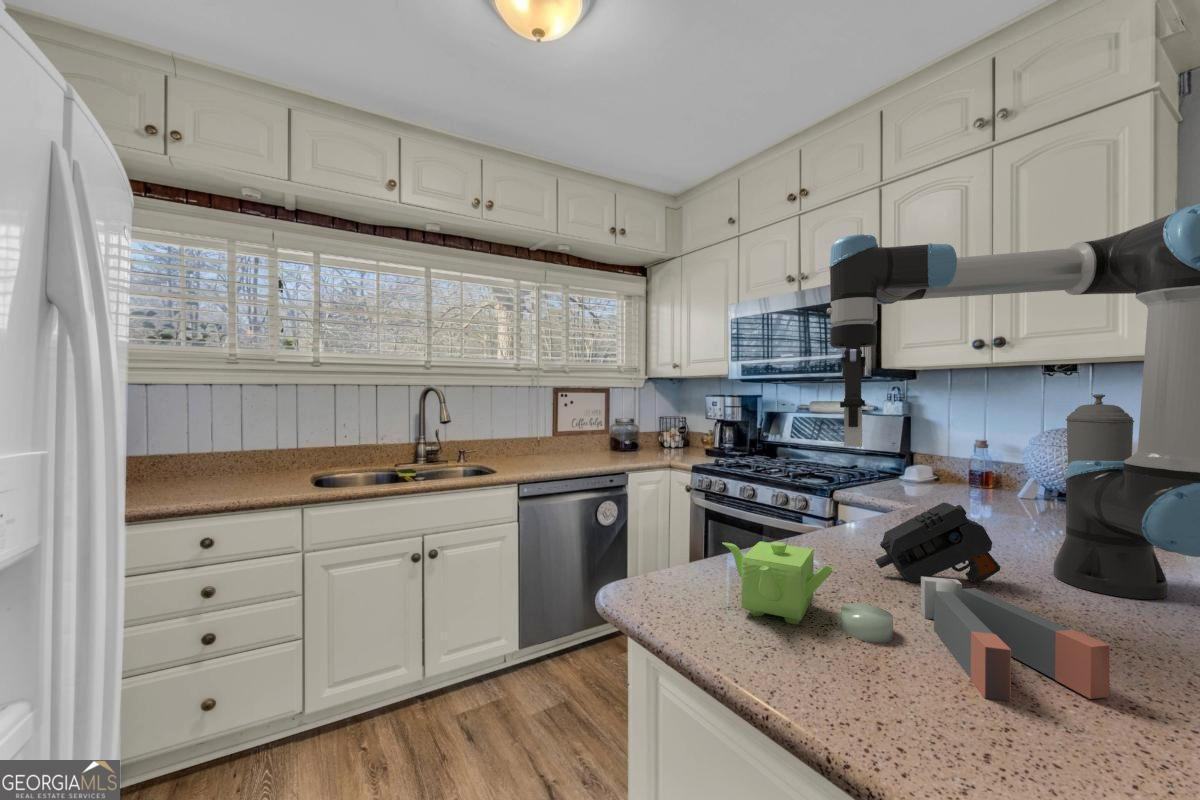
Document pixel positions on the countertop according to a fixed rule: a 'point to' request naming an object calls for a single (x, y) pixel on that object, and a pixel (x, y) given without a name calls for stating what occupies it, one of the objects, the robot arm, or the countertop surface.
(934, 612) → the tongs base
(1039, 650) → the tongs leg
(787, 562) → the kettle
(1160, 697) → the countertop surface
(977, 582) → the tool
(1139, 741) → the countertop surface
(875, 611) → the grey-green pebble
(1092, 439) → the canister
